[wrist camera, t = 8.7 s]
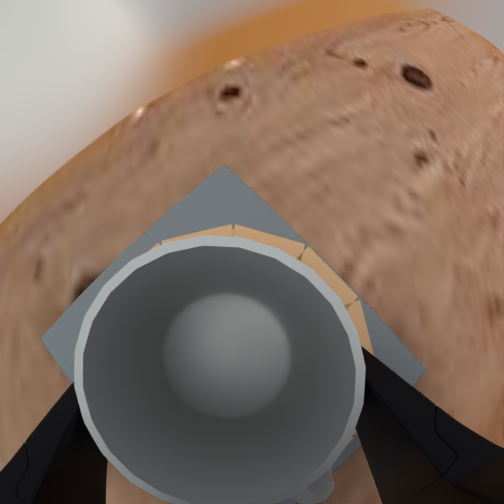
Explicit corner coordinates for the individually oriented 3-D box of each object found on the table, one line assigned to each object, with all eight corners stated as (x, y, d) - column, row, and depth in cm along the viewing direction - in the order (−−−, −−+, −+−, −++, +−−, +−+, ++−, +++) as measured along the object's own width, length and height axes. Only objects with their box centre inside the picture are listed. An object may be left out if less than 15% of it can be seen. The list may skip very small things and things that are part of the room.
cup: (242, 261, 16) (252, 182, 8) (349, 407, 15) (447, 460, 6) (131, 336, 15) (31, 334, 6) (241, 480, 13) (249, 588, 5)
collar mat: (421, 368, 16) (436, 370, 15) (242, 533, 13) (243, 548, 12) (224, 169, 19) (223, 154, 17) (45, 338, 16) (30, 338, 14)
